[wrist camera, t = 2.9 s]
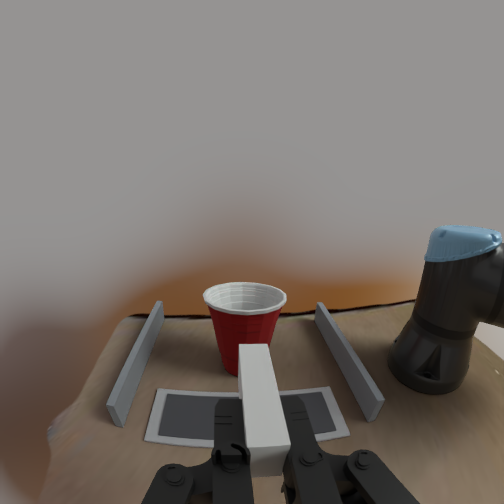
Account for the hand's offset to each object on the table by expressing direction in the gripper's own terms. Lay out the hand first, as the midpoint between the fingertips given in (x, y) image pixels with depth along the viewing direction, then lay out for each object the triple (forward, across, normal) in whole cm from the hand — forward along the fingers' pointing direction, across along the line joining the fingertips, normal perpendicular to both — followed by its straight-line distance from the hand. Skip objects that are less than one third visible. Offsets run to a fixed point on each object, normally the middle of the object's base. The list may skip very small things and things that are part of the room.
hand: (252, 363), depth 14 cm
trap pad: (+9, +1, -17) cm, 19 cm away
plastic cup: (+20, +1, -17) cm, 27 cm away
